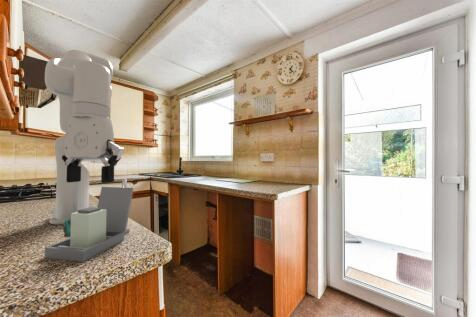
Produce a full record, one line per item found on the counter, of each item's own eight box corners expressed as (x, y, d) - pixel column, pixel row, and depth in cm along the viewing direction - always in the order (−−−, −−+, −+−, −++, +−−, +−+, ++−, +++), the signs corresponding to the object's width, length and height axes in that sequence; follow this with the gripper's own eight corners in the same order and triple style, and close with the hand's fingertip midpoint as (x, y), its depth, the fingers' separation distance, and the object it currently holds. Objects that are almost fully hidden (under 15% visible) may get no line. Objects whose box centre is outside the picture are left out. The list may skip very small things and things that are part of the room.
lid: (101, 186, 59) (104, 187, 60) (92, 229, 56) (96, 229, 57) (132, 187, 57) (134, 188, 58) (124, 231, 54) (127, 231, 55)
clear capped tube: (116, 236, 58) (117, 179, 58) (122, 234, 60) (123, 178, 61) (123, 237, 58) (125, 179, 58) (129, 234, 60) (130, 178, 60)
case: (44, 261, 44) (44, 247, 44) (92, 240, 56) (92, 229, 56) (83, 265, 42) (83, 251, 42) (124, 242, 54) (124, 231, 54)
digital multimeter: (90, 223, 72) (90, 215, 72) (98, 234, 61) (98, 225, 61) (63, 228, 67) (64, 219, 67) (67, 241, 56) (67, 230, 56)
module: (69, 251, 47) (71, 210, 47) (88, 242, 52) (89, 206, 52) (88, 253, 46) (89, 212, 46) (105, 244, 51) (106, 207, 51)
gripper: (46, 111, 47) (44, 183, 47) (110, 108, 44) (109, 184, 44) (77, 118, 55) (75, 180, 54) (133, 116, 52) (132, 181, 51)
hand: (90, 182), depth 49 cm, fingers open, 9 cm apart
